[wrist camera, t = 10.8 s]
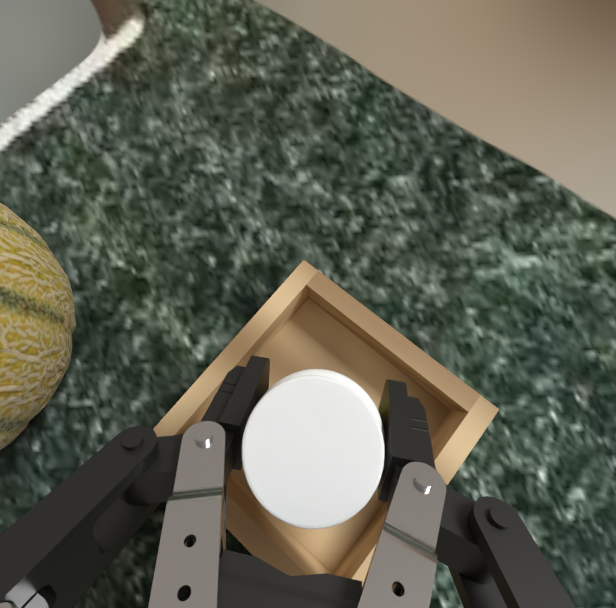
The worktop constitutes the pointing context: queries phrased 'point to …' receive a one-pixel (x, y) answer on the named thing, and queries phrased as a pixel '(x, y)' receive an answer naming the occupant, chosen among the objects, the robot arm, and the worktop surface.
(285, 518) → the supplement bottle
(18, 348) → the cantaloupe
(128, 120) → the worktop surface
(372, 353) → the box
